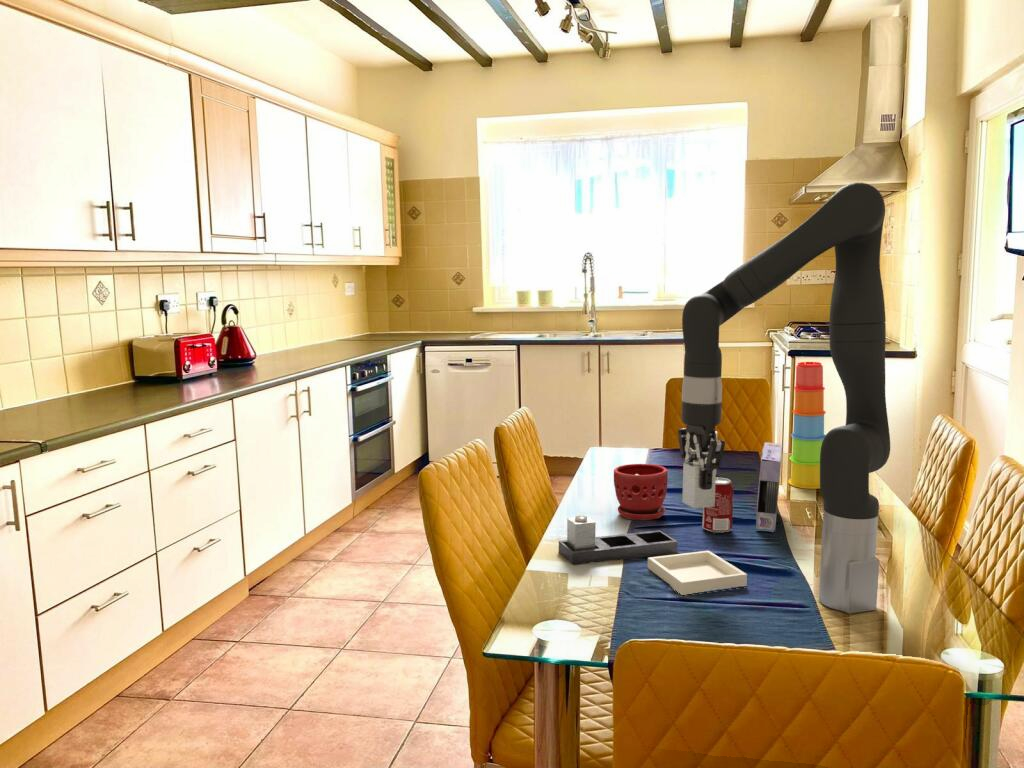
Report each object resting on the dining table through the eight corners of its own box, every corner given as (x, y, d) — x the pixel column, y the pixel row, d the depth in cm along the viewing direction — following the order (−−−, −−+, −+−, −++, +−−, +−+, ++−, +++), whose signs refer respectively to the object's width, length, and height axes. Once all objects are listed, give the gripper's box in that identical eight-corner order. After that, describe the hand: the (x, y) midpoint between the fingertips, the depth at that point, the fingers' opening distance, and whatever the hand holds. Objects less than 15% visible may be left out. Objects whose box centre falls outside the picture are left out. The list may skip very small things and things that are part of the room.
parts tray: (746, 587, 161) (747, 574, 160) (681, 595, 157) (682, 582, 156) (708, 562, 174) (708, 550, 174) (647, 569, 170) (647, 557, 169)
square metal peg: (595, 559, 174) (595, 519, 173) (574, 561, 173) (575, 521, 172) (586, 552, 179) (587, 513, 177) (567, 554, 177) (567, 515, 176)
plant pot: (660, 507, 213) (661, 461, 211) (671, 523, 200) (673, 474, 198) (609, 508, 213) (610, 462, 211) (617, 524, 200) (618, 475, 198)
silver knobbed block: (714, 506, 162) (716, 463, 160) (694, 508, 160) (695, 464, 159) (702, 500, 166) (703, 457, 165) (682, 502, 164) (683, 459, 163)
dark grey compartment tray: (677, 555, 178) (677, 541, 178) (572, 567, 171) (572, 553, 171) (659, 543, 186) (659, 530, 186) (558, 554, 179) (558, 541, 178)
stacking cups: (830, 490, 229) (837, 364, 224) (791, 488, 231) (797, 364, 226) (822, 480, 239) (829, 360, 234) (785, 479, 241) (791, 359, 236)
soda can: (732, 536, 191) (734, 484, 189) (702, 534, 192) (704, 483, 190) (731, 526, 197) (733, 477, 196) (701, 525, 199) (703, 476, 197)
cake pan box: (777, 535, 191) (780, 460, 189) (754, 533, 193) (757, 458, 190) (779, 512, 209) (782, 442, 207) (758, 510, 211) (761, 441, 208)
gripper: (739, 403, 154) (736, 493, 157) (699, 392, 168) (697, 475, 170) (703, 406, 152) (700, 497, 155) (666, 394, 166) (664, 478, 168)
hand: (699, 485), depth 162 cm, fingers closed on silver knobbed block, 4 cm apart
